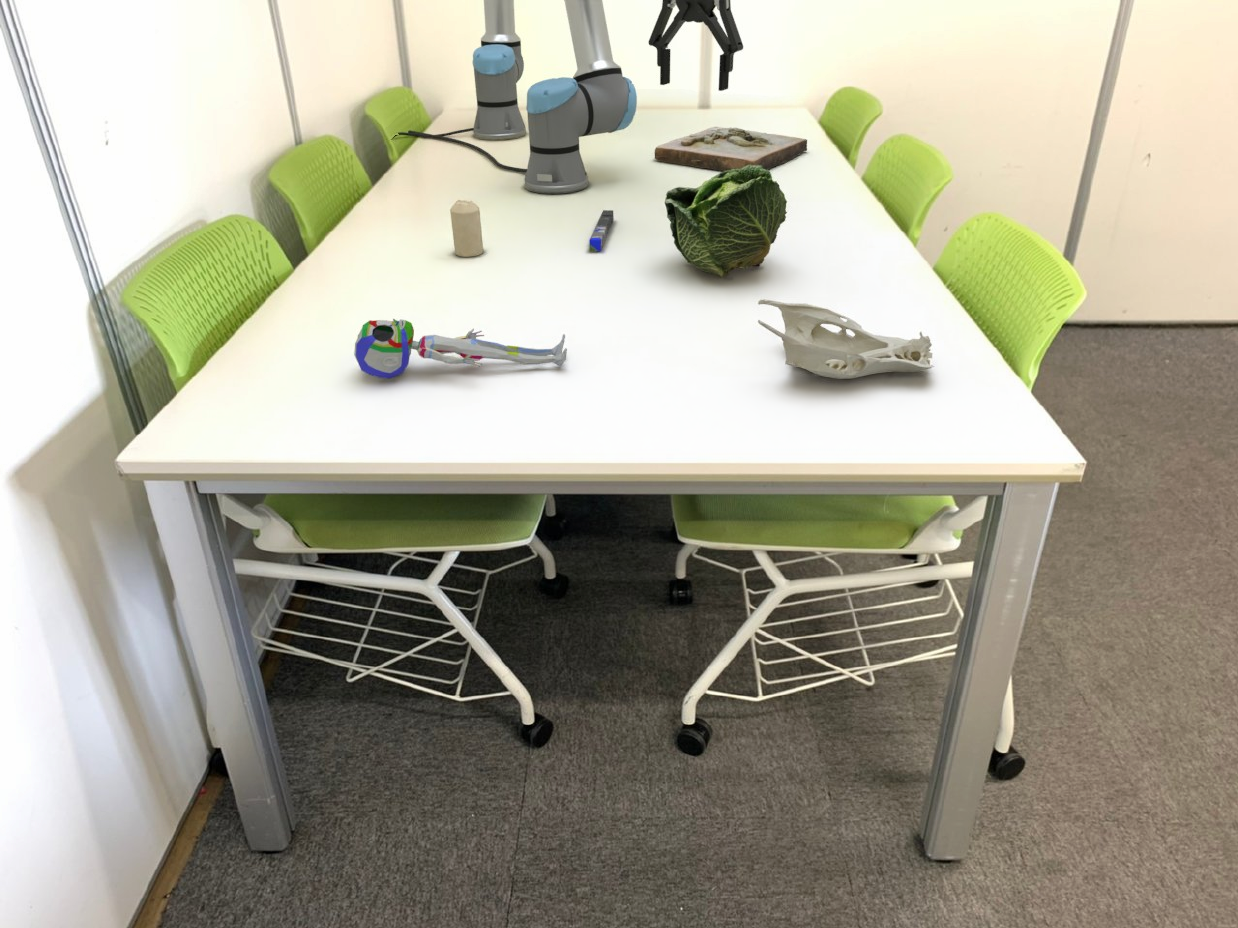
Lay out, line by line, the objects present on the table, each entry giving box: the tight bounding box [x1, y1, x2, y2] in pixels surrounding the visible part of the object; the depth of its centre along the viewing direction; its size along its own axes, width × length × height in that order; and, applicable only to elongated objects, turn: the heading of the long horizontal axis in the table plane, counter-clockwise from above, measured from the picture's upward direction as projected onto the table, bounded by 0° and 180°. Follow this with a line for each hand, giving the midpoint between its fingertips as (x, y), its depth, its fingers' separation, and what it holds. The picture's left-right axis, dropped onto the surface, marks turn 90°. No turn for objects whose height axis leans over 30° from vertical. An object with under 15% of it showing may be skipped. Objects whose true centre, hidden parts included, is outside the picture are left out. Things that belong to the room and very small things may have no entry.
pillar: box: [588, 209, 615, 252], centre depth 182 cm, size 2×2×20 cm
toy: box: [353, 318, 568, 379], centre depth 130 cm, size 10×8×30 cm
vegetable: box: [664, 165, 788, 278], centre depth 161 cm, size 20×19×20 cm
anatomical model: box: [757, 299, 935, 380], centre depth 128 cm, size 15×9×25 cm
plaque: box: [654, 126, 808, 172], centre depth 235 cm, size 30×7×30 cm
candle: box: [449, 199, 484, 258], centre depth 172 cm, size 6×6×10 cm
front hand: (693, 87), depth 183 cm, fingers open, 13 cm apart
